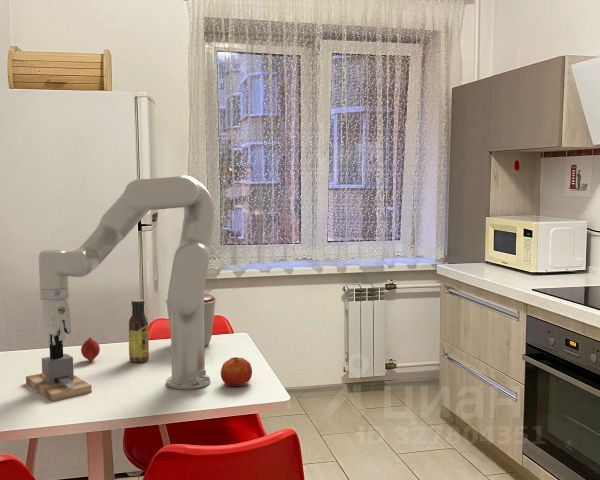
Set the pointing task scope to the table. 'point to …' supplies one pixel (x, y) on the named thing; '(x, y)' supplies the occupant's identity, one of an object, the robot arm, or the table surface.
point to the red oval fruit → (90, 349)
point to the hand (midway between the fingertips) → (56, 357)
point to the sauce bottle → (138, 333)
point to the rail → (64, 382)
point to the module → (57, 368)
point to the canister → (208, 316)
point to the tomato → (236, 371)
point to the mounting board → (58, 388)
